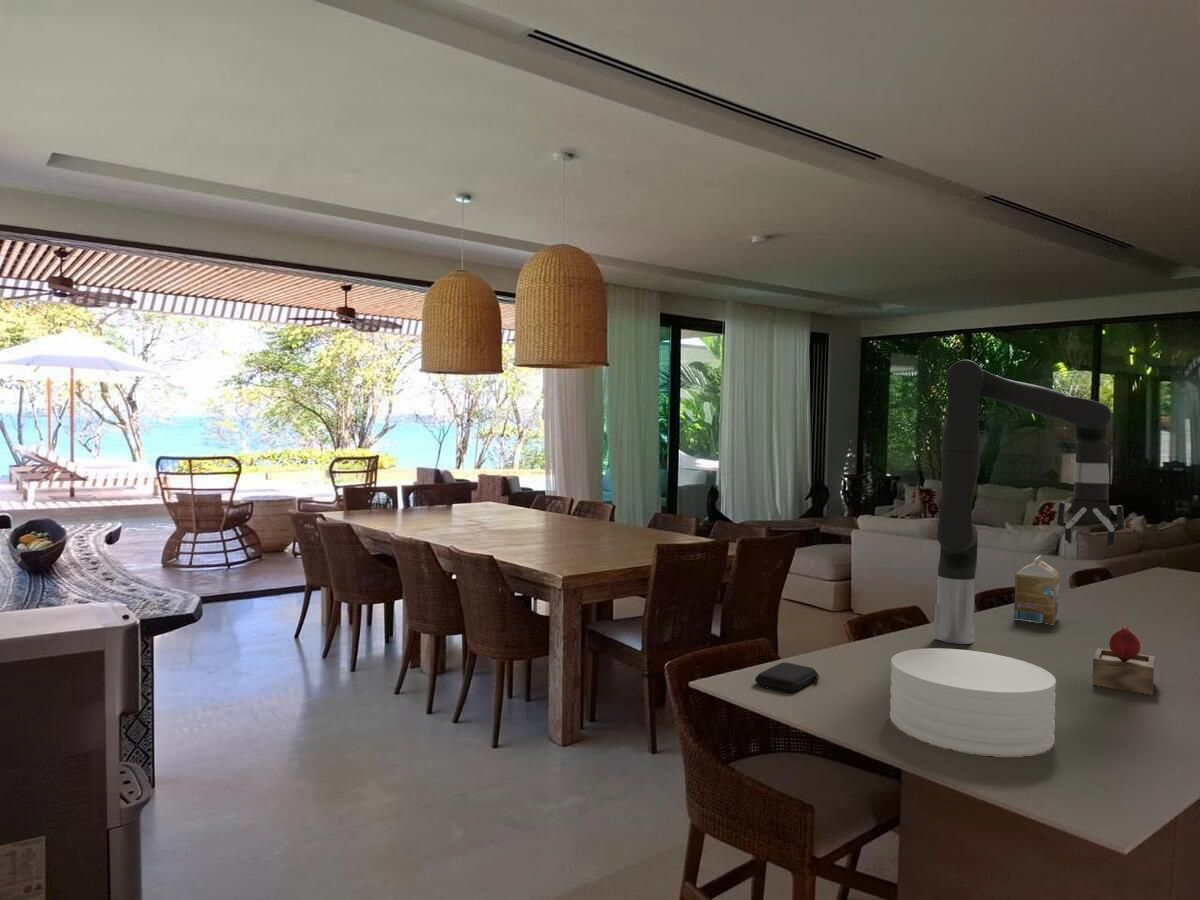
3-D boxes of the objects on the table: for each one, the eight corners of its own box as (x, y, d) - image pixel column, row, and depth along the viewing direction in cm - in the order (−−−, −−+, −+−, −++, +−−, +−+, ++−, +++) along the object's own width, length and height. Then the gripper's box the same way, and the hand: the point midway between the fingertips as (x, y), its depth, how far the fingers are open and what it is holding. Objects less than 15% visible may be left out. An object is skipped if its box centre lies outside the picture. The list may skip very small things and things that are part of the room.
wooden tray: (1092, 685, 178) (1093, 658, 177) (1096, 673, 186) (1097, 648, 186) (1152, 695, 171) (1153, 667, 171) (1153, 682, 180) (1154, 656, 180)
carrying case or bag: (797, 698, 167) (825, 681, 178) (797, 683, 167) (825, 668, 178) (751, 687, 173) (781, 672, 185) (751, 673, 173) (781, 659, 185)
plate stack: (976, 769, 132) (978, 700, 132) (858, 713, 157) (859, 655, 157) (1090, 745, 143) (1091, 681, 143) (962, 697, 169) (964, 643, 168)
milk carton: (1019, 614, 249) (1021, 553, 249) (1058, 619, 243) (1060, 557, 243) (1014, 620, 241) (1015, 557, 240) (1054, 625, 235) (1055, 561, 234)
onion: (1144, 666, 175) (1145, 630, 175) (1115, 664, 177) (1116, 628, 176) (1132, 659, 181) (1133, 624, 181) (1104, 657, 182) (1105, 622, 182)
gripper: (1057, 480, 203) (1055, 543, 203) (1124, 483, 195) (1122, 549, 195) (1060, 479, 209) (1059, 540, 209) (1125, 481, 201) (1123, 546, 201)
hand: (1089, 544), depth 202 cm, fingers open, 8 cm apart
